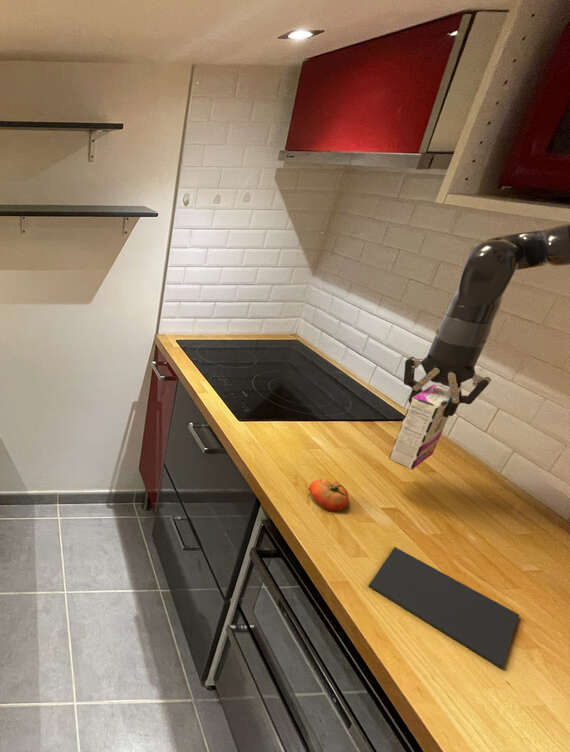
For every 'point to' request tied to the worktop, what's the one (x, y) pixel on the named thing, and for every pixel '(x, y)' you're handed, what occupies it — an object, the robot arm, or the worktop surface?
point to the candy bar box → (421, 427)
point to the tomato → (329, 494)
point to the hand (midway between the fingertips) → (429, 410)
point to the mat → (447, 605)
